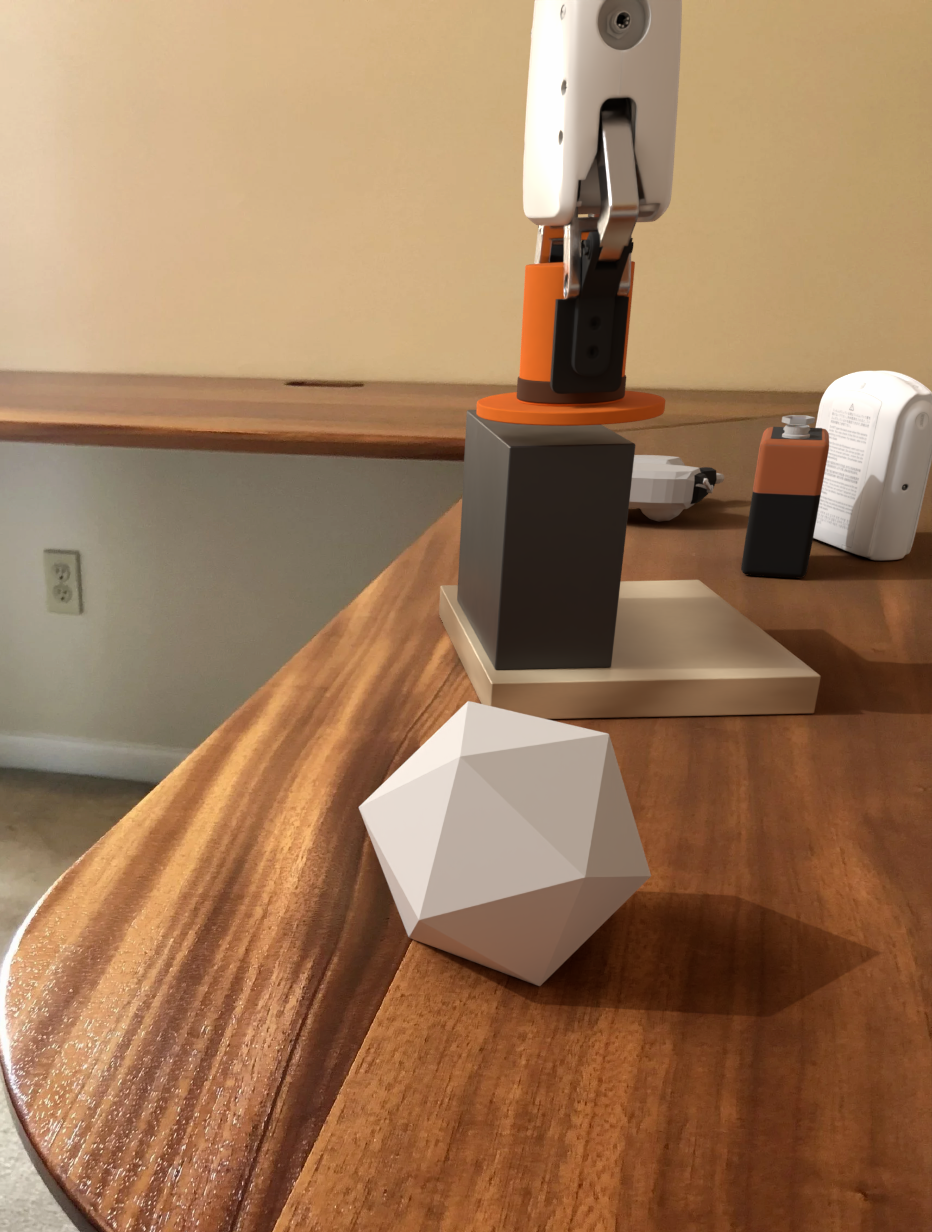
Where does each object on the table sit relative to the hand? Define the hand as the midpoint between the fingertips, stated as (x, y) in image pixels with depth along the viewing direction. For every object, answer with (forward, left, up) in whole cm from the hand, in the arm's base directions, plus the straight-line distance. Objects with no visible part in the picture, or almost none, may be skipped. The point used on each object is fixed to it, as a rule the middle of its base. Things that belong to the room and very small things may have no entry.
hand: (571, 380), depth 63 cm
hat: (0, 0, -1) cm, 1 cm away
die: (+7, +28, -16) cm, 33 cm away
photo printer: (-30, -32, -16) cm, 46 cm away
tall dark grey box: (0, -4, -14) cm, 14 cm away
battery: (-22, -26, -16) cm, 37 cm away
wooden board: (-4, -5, -16) cm, 17 cm away
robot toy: (-18, -47, -16) cm, 53 cm away
